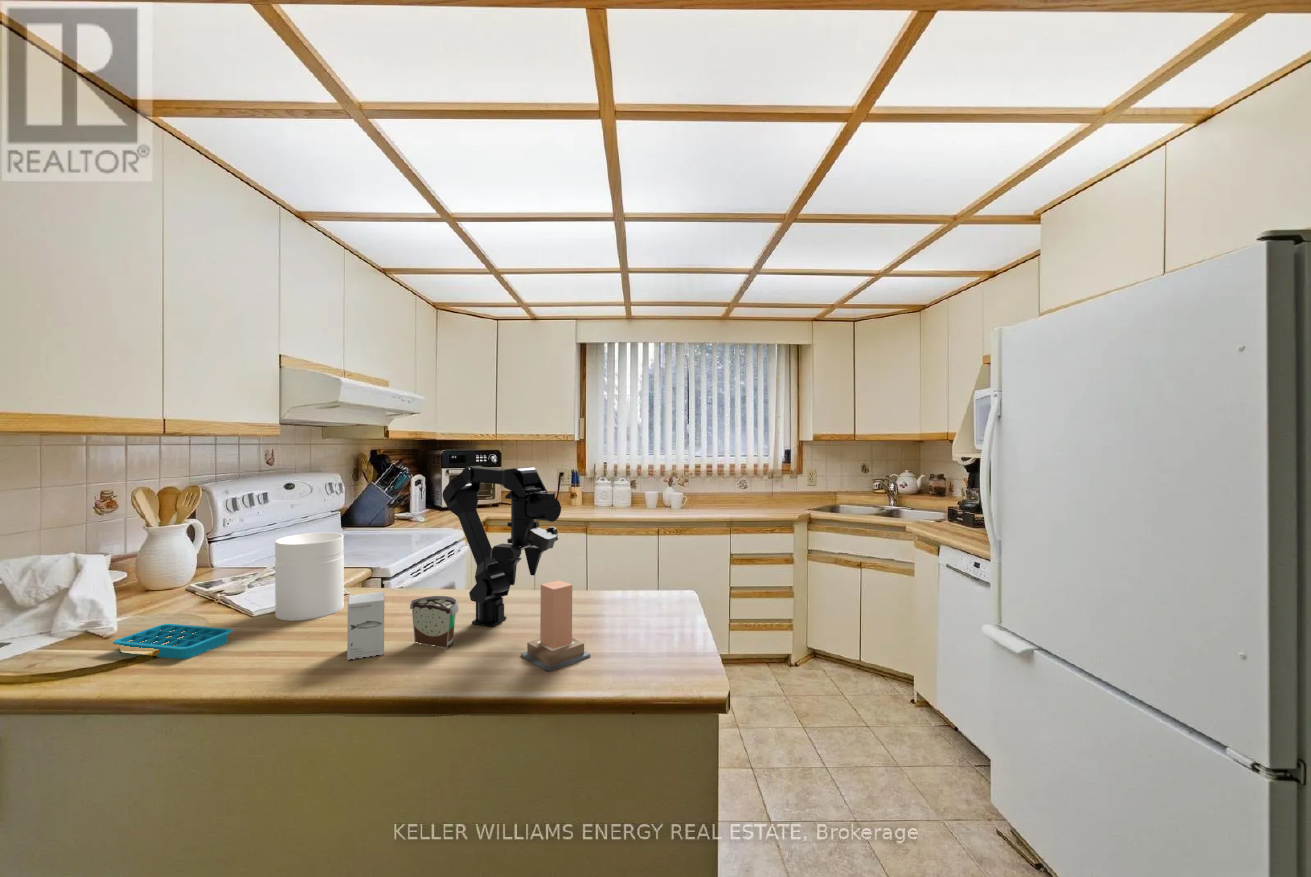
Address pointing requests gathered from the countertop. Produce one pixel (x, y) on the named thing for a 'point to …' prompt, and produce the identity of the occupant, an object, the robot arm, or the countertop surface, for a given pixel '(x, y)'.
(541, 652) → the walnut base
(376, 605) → the supplement box
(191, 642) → the ice cube tray
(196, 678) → the countertop surface
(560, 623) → the terracotta block
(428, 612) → the food container
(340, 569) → the canister
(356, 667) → the countertop surface
